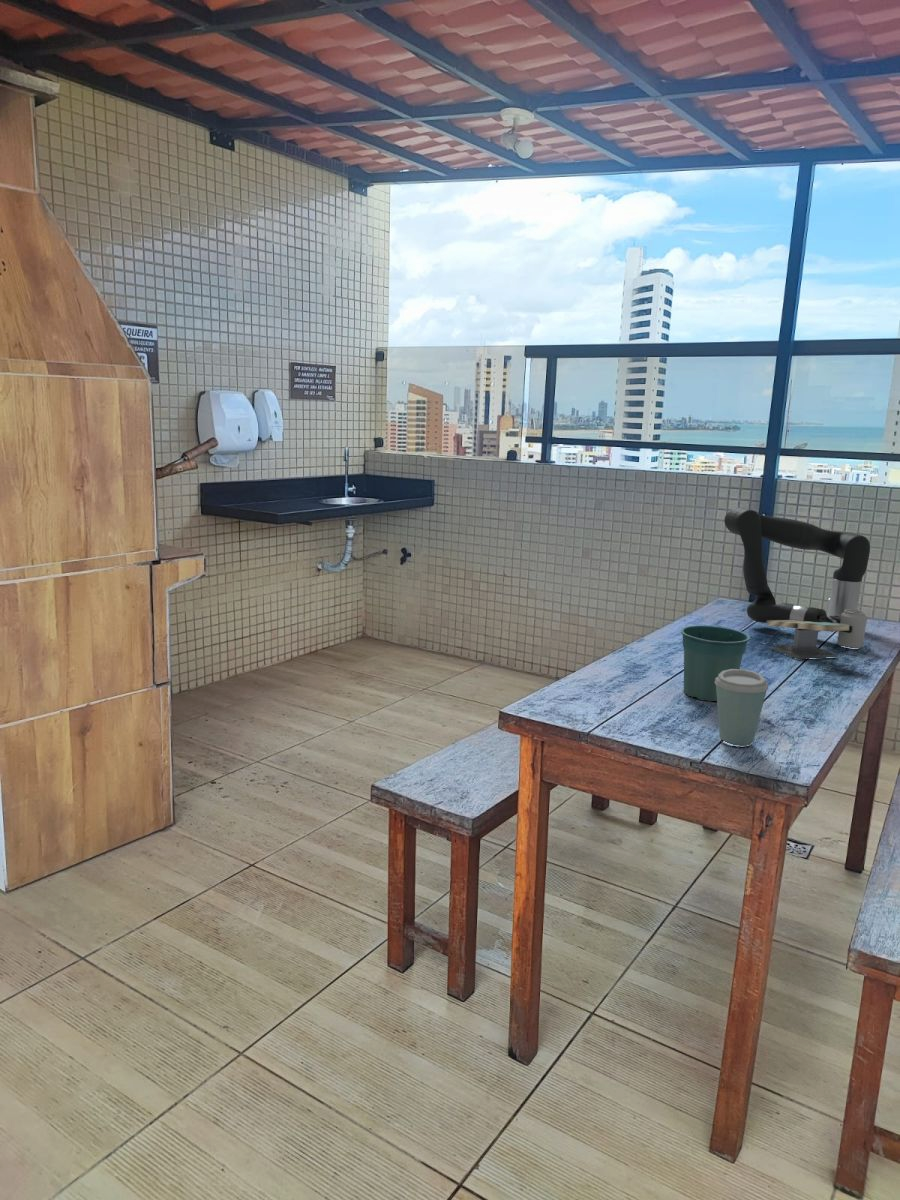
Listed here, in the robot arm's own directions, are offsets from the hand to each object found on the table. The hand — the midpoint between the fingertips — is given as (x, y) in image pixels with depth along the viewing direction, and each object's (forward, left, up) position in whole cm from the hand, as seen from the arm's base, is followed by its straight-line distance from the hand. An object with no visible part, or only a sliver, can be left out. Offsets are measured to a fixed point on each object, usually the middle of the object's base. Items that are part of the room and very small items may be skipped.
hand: (857, 628), depth 265 cm
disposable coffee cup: (+64, -92, -7) cm, 112 cm away
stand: (+3, -23, -7) cm, 24 cm away
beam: (+3, -23, +2) cm, 23 cm away
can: (-2, -1, -7) cm, 7 cm away
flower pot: (+34, -78, -7) cm, 85 cm away
